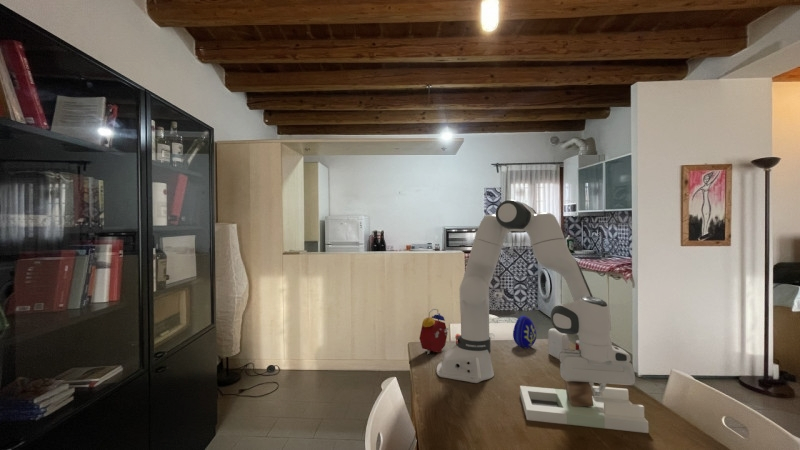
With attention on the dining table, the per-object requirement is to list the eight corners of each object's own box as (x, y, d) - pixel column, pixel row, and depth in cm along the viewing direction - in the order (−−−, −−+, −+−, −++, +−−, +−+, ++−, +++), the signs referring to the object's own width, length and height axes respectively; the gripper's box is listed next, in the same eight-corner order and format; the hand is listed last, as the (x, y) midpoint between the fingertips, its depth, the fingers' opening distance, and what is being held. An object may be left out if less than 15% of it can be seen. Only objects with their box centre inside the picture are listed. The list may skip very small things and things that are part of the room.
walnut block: (572, 406, 103) (569, 386, 103) (566, 396, 109) (564, 377, 109) (593, 406, 102) (590, 385, 102) (587, 396, 107) (584, 377, 108)
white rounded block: (546, 353, 155) (546, 326, 155) (555, 352, 156) (554, 325, 156) (562, 362, 145) (561, 333, 145) (571, 361, 146) (570, 332, 146)
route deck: (526, 419, 101) (526, 399, 101) (520, 394, 117) (519, 376, 117) (648, 433, 94) (648, 411, 94) (623, 404, 110) (623, 385, 110)
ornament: (523, 352, 157) (523, 319, 157) (508, 346, 165) (508, 315, 165) (539, 347, 162) (539, 316, 163) (524, 342, 170) (524, 312, 171)
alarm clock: (436, 345, 167) (436, 304, 167) (452, 349, 161) (451, 307, 161) (419, 354, 155) (418, 310, 155) (435, 358, 150) (434, 313, 150)
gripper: (561, 352, 104) (562, 398, 103) (636, 356, 99) (638, 404, 99) (556, 345, 110) (557, 388, 110) (627, 349, 106) (628, 394, 105)
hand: (596, 396), depth 104 cm, fingers closed
